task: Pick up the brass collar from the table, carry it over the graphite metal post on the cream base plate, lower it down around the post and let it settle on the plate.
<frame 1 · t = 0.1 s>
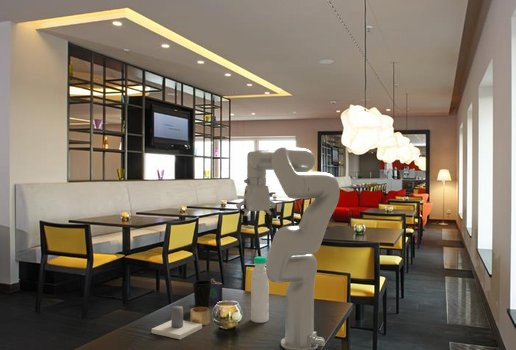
hand: (256, 224, 184), 37 cm above the table, tool pointing down, fingers open, 9 cm apart
stand: (177, 330, 169), on the table
water bottle: (259, 321, 181), on the table
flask: (212, 303, 205), on the table
cup: (202, 311, 193), on the table
collar: (200, 322, 178), on the table
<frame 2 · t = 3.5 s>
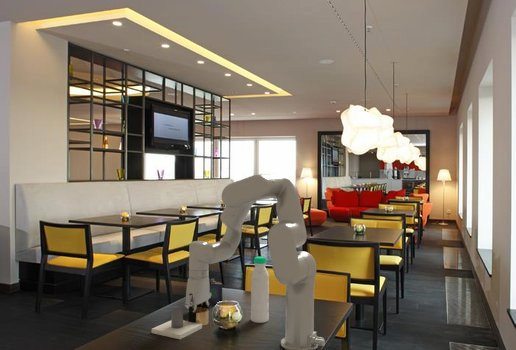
hand: (198, 318, 177), 2 cm above the table, tool pointing down, fingers closed on collar, 7 cm apart
collar: (198, 322, 177), on the table, touching gripper
everything else where it was.
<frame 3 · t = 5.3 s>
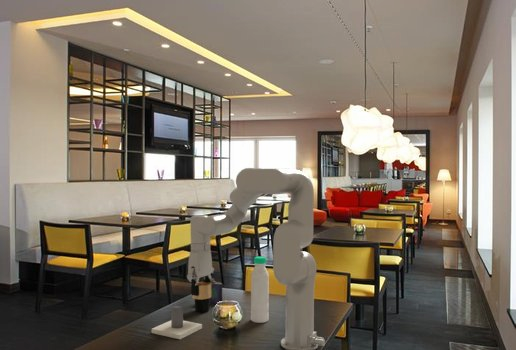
hand: (201, 292, 177), 12 cm above the table, tool pointing down, fingers closed on collar, 7 cm apart
collar: (201, 296, 177), point 10 cm above the table, touching gripper
everything else where it was.
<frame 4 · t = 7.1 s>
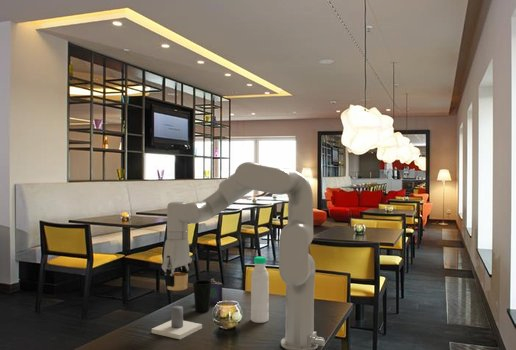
hand: (177, 283, 169), 17 cm above the table, tool pointing down, fingers closed on collar, 7 cm apart
collar: (177, 287, 168), point 16 cm above the table, touching gripper
everything else where it was.
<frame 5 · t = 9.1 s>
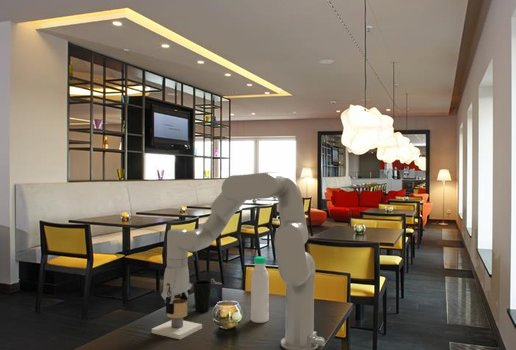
hand: (176, 310, 169), 7 cm above the table, tool pointing down, fingers closed on collar, 7 cm apart
collar: (177, 314, 169), point 6 cm above the table, touching gripper
everything else where it was.
when the fingers open (4 cm above the table, at t = 10.7 s): collar stays where it is, resting on stand.
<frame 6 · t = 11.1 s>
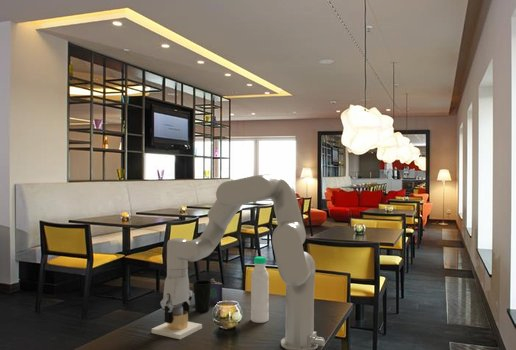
hand: (177, 318, 169), 4 cm above the table, tool pointing down, fingers open, 9 cm apart
collar: (177, 326, 169), point 1 cm above the table, touching stand
everything else where it was.
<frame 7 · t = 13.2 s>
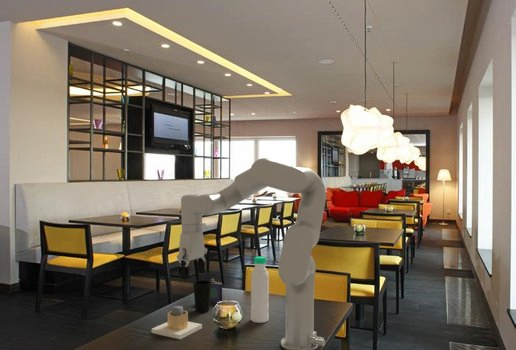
hand: (193, 274, 169), 21 cm above the table, tool pointing down, fingers open, 9 cm apart
nothing on the table moved.
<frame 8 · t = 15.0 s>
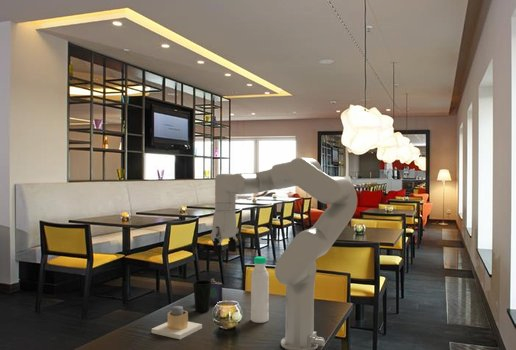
hand: (225, 253, 169), 28 cm above the table, tool pointing down, fingers open, 9 cm apart
nothing on the table moved.
at the end: collar 0.2 cm from the stand (horizontally); collar point 1.5 cm above the table; the gripper is holding nothing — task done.
